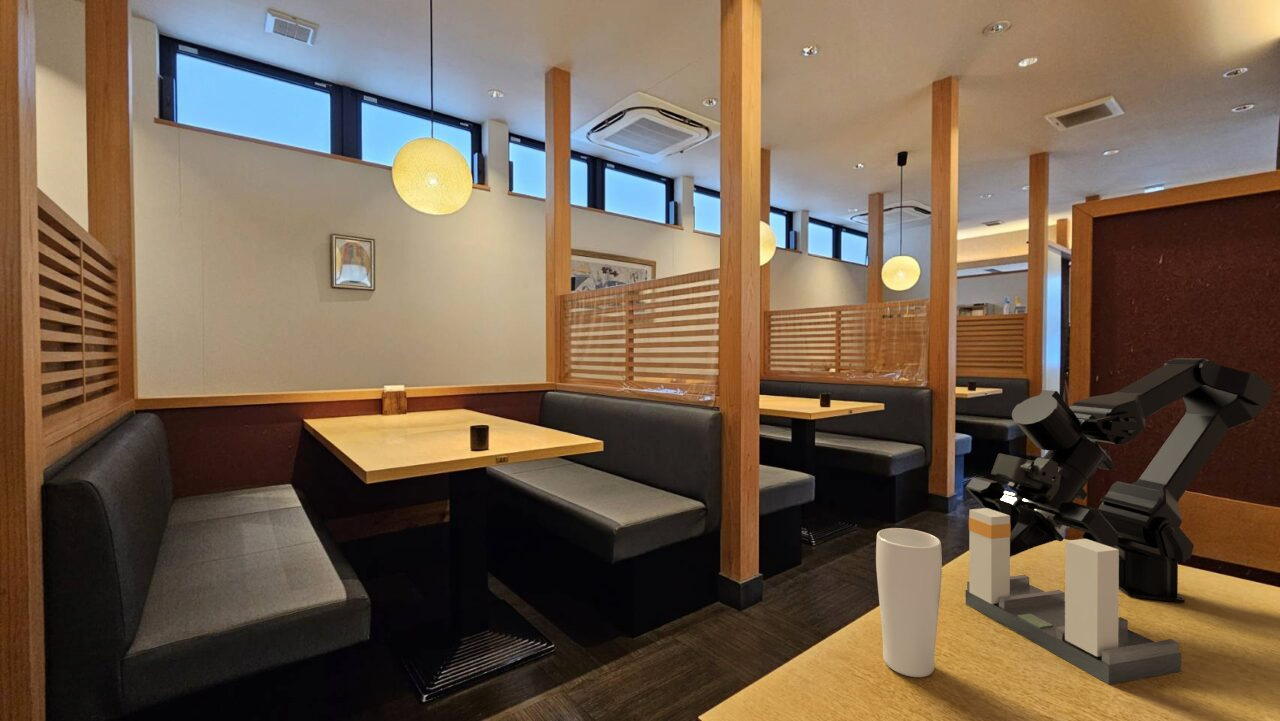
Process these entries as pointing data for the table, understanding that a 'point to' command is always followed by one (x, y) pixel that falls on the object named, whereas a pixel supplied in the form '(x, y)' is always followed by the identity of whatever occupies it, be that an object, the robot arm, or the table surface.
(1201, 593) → the table surface
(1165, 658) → the box
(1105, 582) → the on lever
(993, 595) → the lever
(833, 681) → the table surface
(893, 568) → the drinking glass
